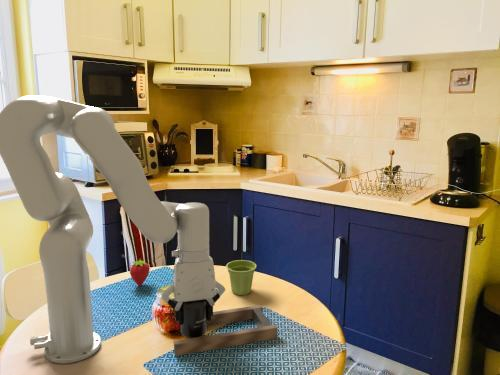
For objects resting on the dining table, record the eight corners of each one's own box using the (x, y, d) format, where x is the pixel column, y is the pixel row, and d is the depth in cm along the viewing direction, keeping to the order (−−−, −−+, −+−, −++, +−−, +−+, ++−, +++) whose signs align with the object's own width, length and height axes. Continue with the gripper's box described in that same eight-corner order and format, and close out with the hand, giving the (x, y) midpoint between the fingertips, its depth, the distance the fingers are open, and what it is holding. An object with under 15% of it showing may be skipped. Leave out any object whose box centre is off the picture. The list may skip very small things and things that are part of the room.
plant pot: (228, 299, 129) (228, 272, 127) (224, 286, 138) (224, 260, 136) (258, 296, 131) (259, 270, 129) (252, 283, 140) (252, 259, 138)
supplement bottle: (202, 341, 104) (202, 295, 101) (176, 337, 105) (175, 292, 103) (210, 326, 110) (210, 283, 108) (185, 323, 112) (185, 280, 109)
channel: (175, 355, 101) (174, 344, 100) (168, 328, 112) (167, 318, 111) (277, 338, 109) (277, 327, 108) (260, 314, 120) (261, 304, 119)
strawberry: (153, 281, 141) (152, 252, 139) (145, 291, 133) (144, 261, 131) (135, 280, 141) (134, 252, 139) (127, 290, 134) (125, 260, 132)
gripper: (159, 262, 97) (160, 333, 101) (232, 255, 103) (231, 323, 106) (155, 251, 104) (157, 318, 108) (224, 245, 110) (223, 309, 113)
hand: (194, 320), depth 107 cm, fingers closed on supplement bottle, 6 cm apart
